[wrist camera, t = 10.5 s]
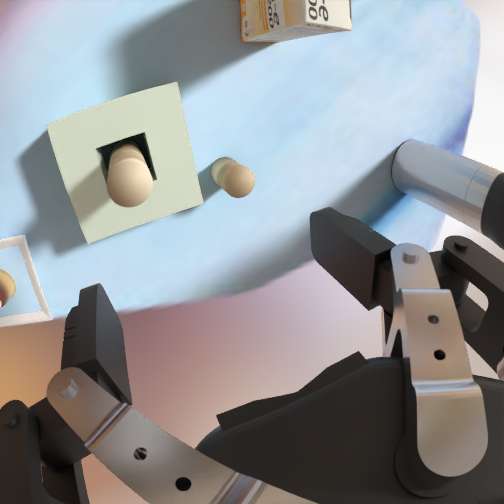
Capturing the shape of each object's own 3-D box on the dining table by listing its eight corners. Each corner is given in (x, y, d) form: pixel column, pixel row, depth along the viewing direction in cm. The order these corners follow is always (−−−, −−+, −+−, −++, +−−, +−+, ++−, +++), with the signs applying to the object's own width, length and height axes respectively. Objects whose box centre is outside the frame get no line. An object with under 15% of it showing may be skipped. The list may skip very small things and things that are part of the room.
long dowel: (136, 136, 29) (146, 155, 19) (144, 164, 30) (158, 198, 21) (107, 145, 28) (101, 171, 18) (115, 174, 30) (115, 213, 20)
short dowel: (234, 154, 34) (252, 163, 30) (239, 180, 36) (257, 192, 32) (207, 161, 33) (221, 171, 29) (213, 187, 35) (227, 201, 31)
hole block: (169, 84, 27) (177, 81, 23) (192, 189, 34) (203, 203, 30) (57, 120, 24) (46, 125, 20) (91, 224, 31) (87, 244, 27)
